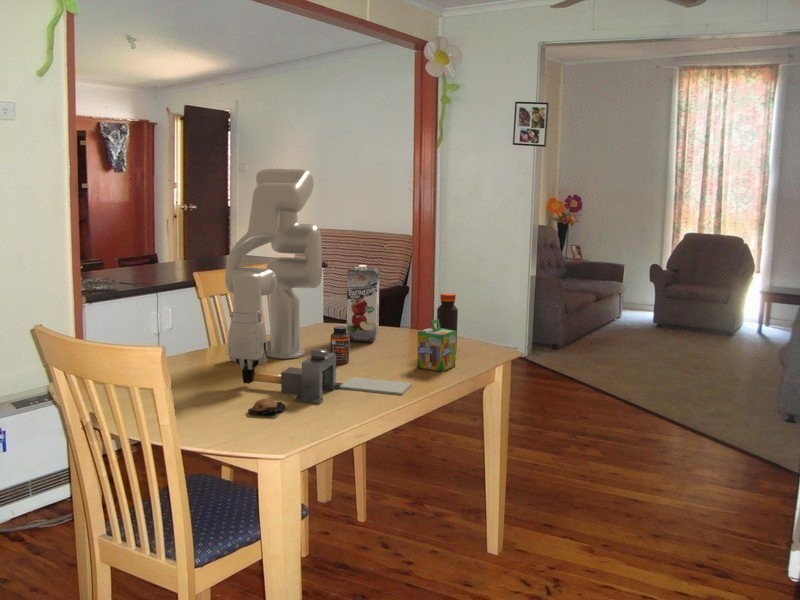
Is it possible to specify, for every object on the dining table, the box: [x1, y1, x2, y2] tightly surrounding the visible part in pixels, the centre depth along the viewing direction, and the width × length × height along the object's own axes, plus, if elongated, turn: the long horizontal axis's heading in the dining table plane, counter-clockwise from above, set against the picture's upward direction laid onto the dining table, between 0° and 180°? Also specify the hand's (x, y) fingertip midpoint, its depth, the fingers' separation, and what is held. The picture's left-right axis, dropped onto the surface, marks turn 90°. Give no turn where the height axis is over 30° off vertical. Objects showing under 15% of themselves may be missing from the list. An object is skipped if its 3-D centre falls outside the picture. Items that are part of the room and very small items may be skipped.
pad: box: [339, 376, 413, 396], centre depth 214 cm, size 18×10×1 cm, turn 74°
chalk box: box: [416, 318, 457, 372], centre depth 234 cm, size 9×9×15 cm
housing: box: [294, 348, 343, 405], centre depth 205 cm, size 7×17×12 cm, turn 164°
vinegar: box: [436, 292, 459, 350], centre depth 251 cm, size 7×7×20 cm
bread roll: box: [246, 398, 286, 420], centre depth 191 cm, size 11×8×4 cm
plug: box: [253, 366, 302, 396], centre depth 208 cm, size 18×6×6 cm, turn 74°
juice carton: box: [346, 264, 380, 344], centre depth 267 cm, size 9×10×27 cm
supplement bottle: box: [329, 325, 350, 365], centre depth 238 cm, size 6×6×11 cm
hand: (248, 382), depth 211 cm, fingers closed
